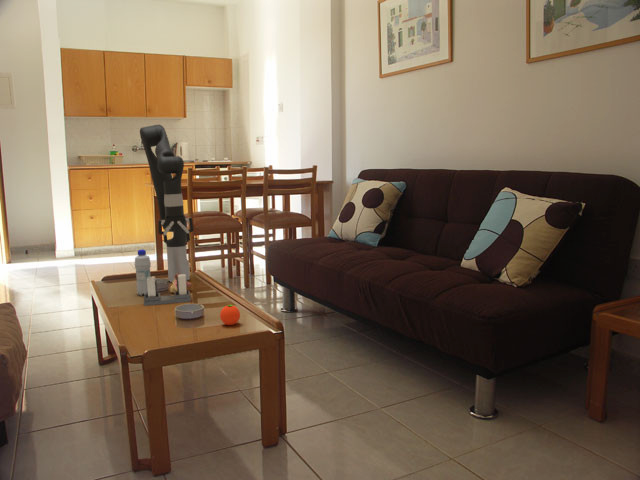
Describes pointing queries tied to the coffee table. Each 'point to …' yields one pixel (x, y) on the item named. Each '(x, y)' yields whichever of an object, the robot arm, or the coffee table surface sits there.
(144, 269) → the bottle
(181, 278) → the block
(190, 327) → the coffee table surface
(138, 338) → the coffee table surface
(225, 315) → the clementine
